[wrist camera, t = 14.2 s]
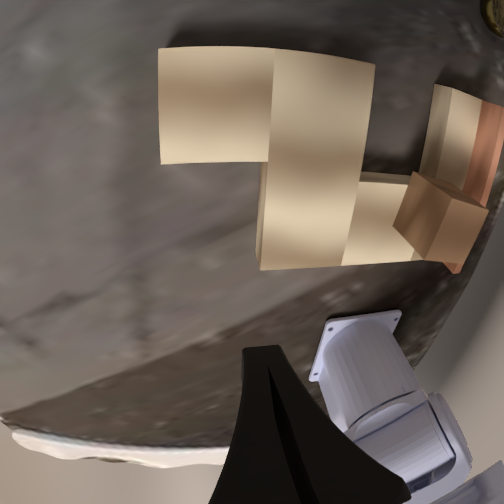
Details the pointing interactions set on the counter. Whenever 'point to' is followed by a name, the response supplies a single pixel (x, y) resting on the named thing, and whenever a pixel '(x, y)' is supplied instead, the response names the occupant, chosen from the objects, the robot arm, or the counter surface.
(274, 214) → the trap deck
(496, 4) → the cup
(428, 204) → the walnut cube
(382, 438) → the robot arm
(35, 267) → the counter surface
